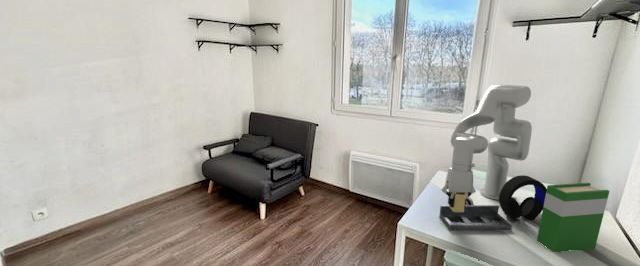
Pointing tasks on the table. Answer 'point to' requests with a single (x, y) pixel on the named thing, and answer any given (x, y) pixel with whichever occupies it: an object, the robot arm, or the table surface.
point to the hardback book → (572, 217)
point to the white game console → (469, 201)
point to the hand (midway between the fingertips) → (456, 205)
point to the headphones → (529, 206)
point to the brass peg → (458, 202)
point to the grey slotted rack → (474, 218)
